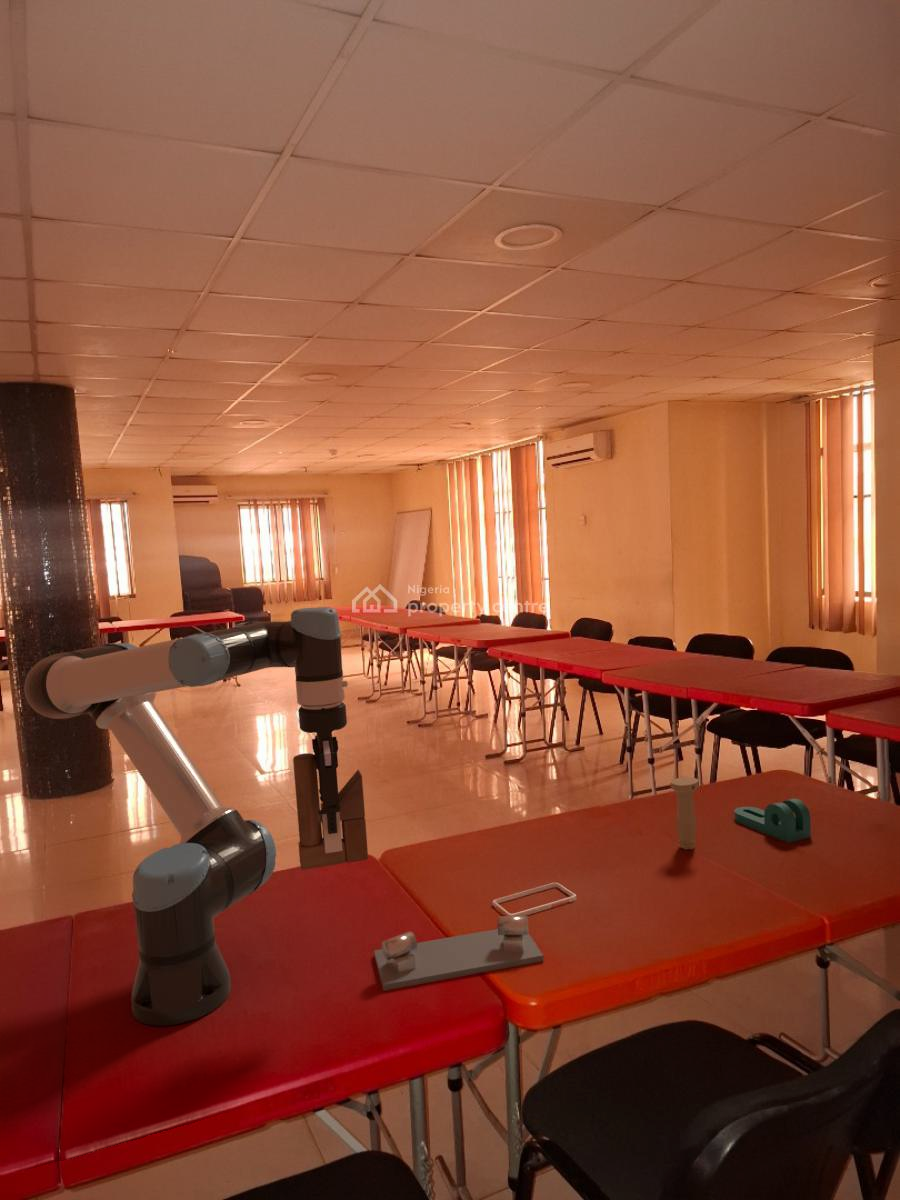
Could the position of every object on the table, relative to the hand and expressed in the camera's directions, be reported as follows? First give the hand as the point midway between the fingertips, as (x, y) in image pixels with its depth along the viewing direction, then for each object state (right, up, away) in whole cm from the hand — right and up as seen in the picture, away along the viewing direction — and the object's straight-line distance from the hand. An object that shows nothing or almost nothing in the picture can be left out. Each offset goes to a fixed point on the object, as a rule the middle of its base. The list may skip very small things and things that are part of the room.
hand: (332, 845), depth 127 cm
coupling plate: (+20, -21, +6) cm, 30 cm away
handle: (+72, -15, +46) cm, 86 cm away
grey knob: (+30, -20, +7) cm, 37 cm away
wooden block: (0, -3, 0) cm, 3 cm away
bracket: (+93, -13, +55) cm, 109 cm away
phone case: (+36, -19, +25) cm, 48 cm away
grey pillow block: (+11, -22, +3) cm, 25 cm away
